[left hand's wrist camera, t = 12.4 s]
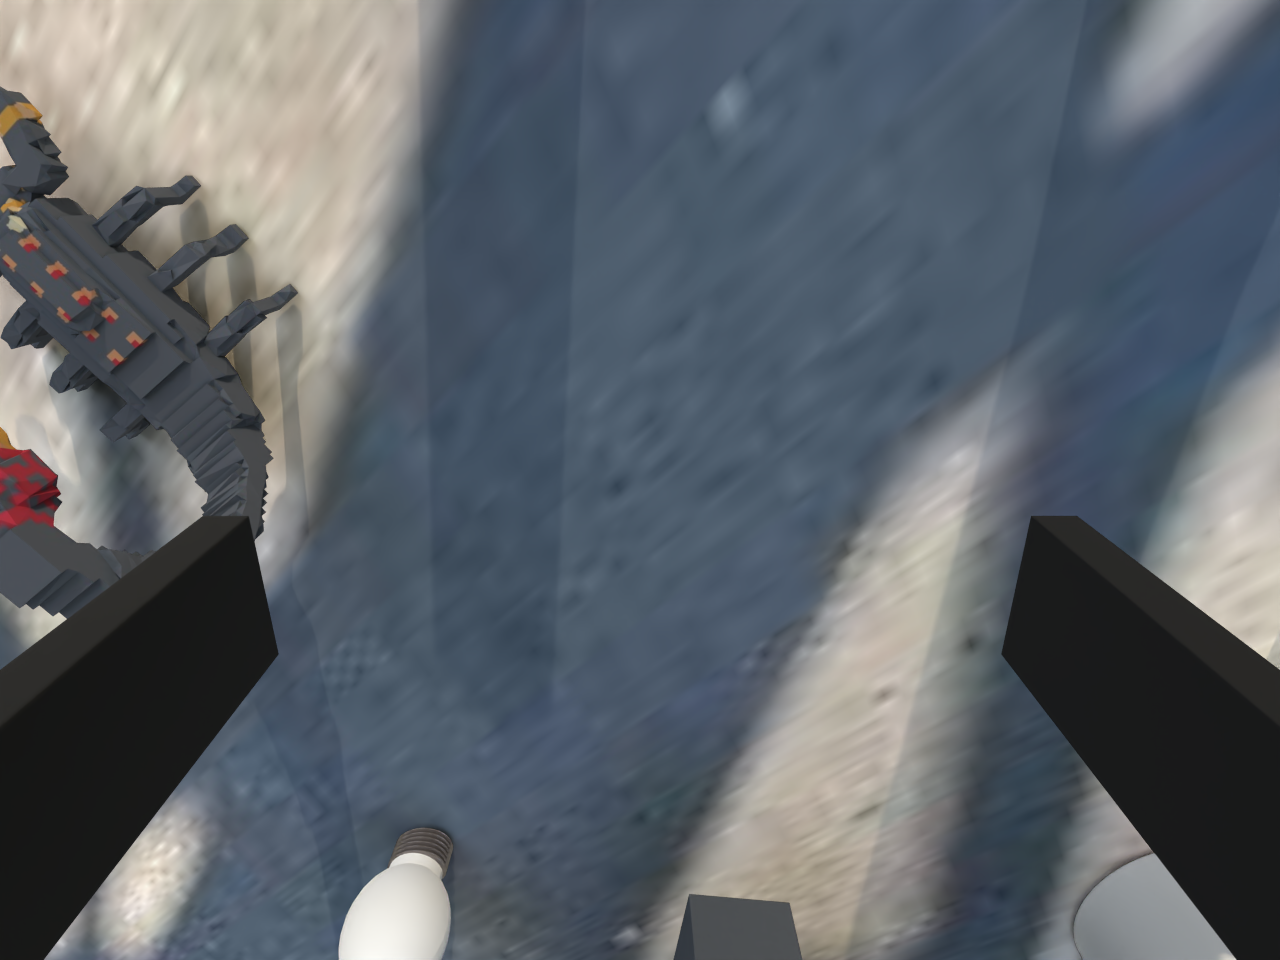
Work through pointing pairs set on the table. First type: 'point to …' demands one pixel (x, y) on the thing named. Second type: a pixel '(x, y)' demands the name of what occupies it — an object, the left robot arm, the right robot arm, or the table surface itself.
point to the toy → (114, 360)
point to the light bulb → (403, 904)
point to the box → (737, 930)
